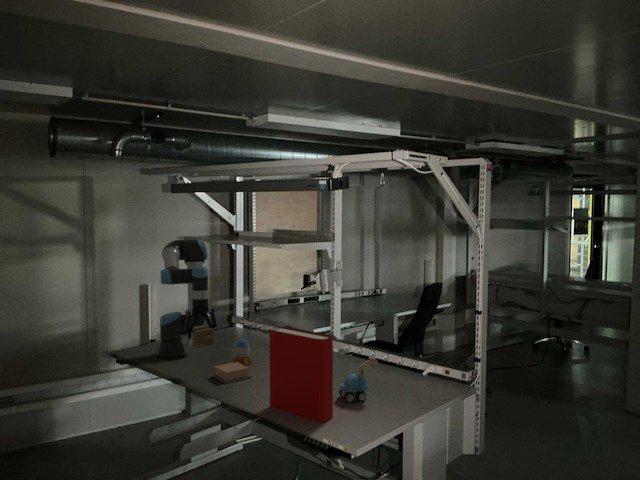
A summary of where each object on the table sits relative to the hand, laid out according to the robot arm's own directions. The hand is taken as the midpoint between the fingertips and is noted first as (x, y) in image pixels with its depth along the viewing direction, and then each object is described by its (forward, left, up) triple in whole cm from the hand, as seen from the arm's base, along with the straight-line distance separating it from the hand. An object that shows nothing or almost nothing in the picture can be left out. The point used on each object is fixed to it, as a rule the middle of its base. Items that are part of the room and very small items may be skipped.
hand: (200, 343), depth 249 cm
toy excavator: (+71, +41, -16) cm, 84 cm away
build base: (+13, +10, -15) cm, 23 cm away
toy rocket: (0, +22, -16) cm, 27 cm away
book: (+69, +13, -16) cm, 72 cm away
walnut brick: (0, 0, 0) cm, 0 cm away
